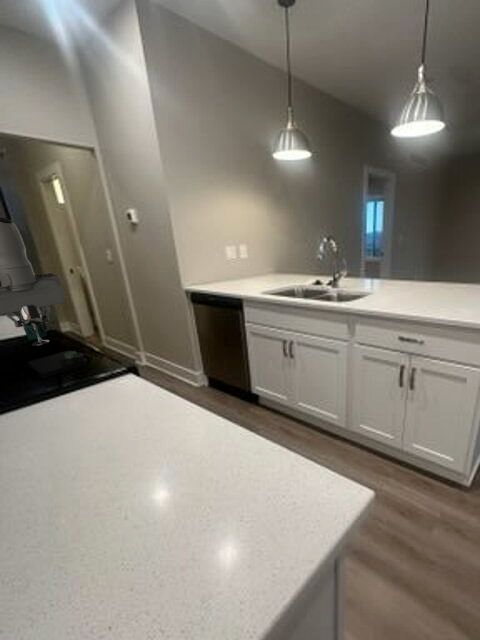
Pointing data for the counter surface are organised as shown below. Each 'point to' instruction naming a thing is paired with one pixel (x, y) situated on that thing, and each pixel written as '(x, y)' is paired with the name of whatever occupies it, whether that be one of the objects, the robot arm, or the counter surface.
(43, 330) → the beverage bottle
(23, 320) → the wineglass
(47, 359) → the scale
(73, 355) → the tare button
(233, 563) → the counter surface
